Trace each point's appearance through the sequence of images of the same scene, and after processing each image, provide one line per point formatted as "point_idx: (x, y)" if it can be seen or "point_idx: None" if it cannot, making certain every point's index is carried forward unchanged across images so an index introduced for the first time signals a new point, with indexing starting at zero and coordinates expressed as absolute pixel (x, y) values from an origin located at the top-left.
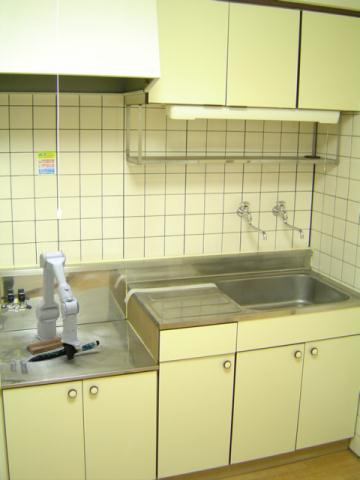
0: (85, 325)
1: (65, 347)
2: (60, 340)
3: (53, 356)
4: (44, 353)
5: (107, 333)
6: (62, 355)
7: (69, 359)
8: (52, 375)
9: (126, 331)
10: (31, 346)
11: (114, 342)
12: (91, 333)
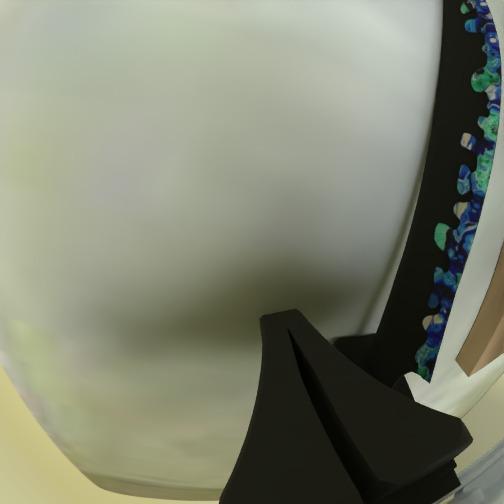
0: (493, 381)
1: (323, 472)
2: None
3: (436, 187)
4: (500, 99)
5: None
6: (398, 280)
7: (260, 326)
8: (12, 47)
9: None
10: None
11: None
12: (452, 404)
